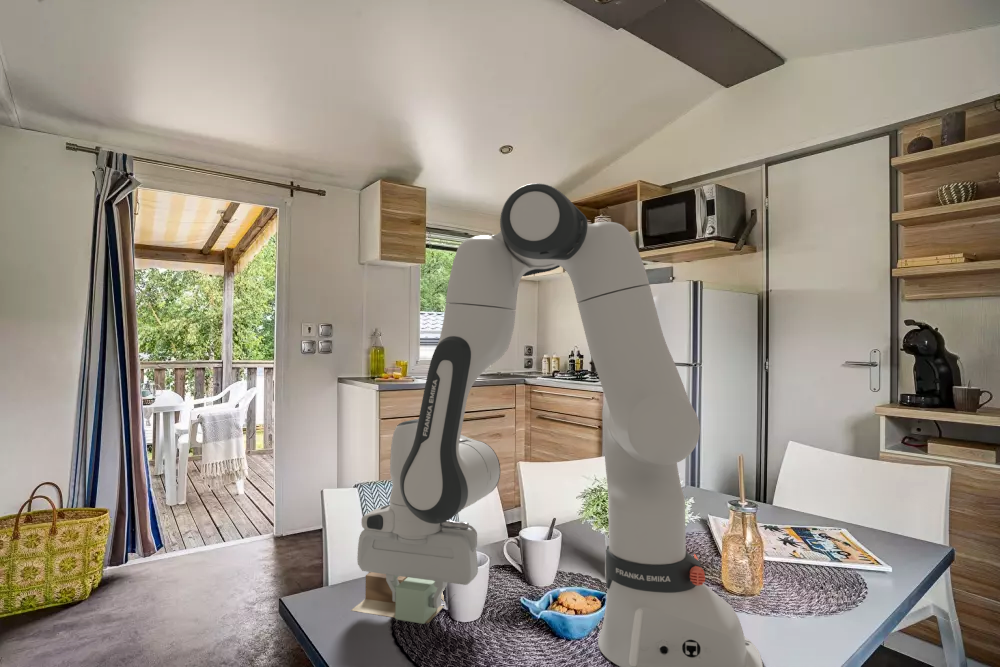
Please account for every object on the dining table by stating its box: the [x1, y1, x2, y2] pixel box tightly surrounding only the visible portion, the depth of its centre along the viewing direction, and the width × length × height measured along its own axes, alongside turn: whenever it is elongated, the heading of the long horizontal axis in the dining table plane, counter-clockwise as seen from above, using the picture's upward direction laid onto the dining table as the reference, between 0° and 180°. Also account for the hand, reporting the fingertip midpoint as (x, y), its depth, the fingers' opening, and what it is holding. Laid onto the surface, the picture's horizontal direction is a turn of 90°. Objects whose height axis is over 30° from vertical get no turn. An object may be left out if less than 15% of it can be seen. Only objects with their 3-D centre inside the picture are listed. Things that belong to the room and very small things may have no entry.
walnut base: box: [364, 572, 408, 603], centre depth 98 cm, size 7×7×4 cm
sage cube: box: [394, 577, 438, 625], centre depth 90 cm, size 5×5×5 cm
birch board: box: [350, 593, 445, 624], centre depth 94 cm, size 14×12×1 cm
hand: (416, 603), depth 90 cm, fingers closed on sage cube, 5 cm apart
